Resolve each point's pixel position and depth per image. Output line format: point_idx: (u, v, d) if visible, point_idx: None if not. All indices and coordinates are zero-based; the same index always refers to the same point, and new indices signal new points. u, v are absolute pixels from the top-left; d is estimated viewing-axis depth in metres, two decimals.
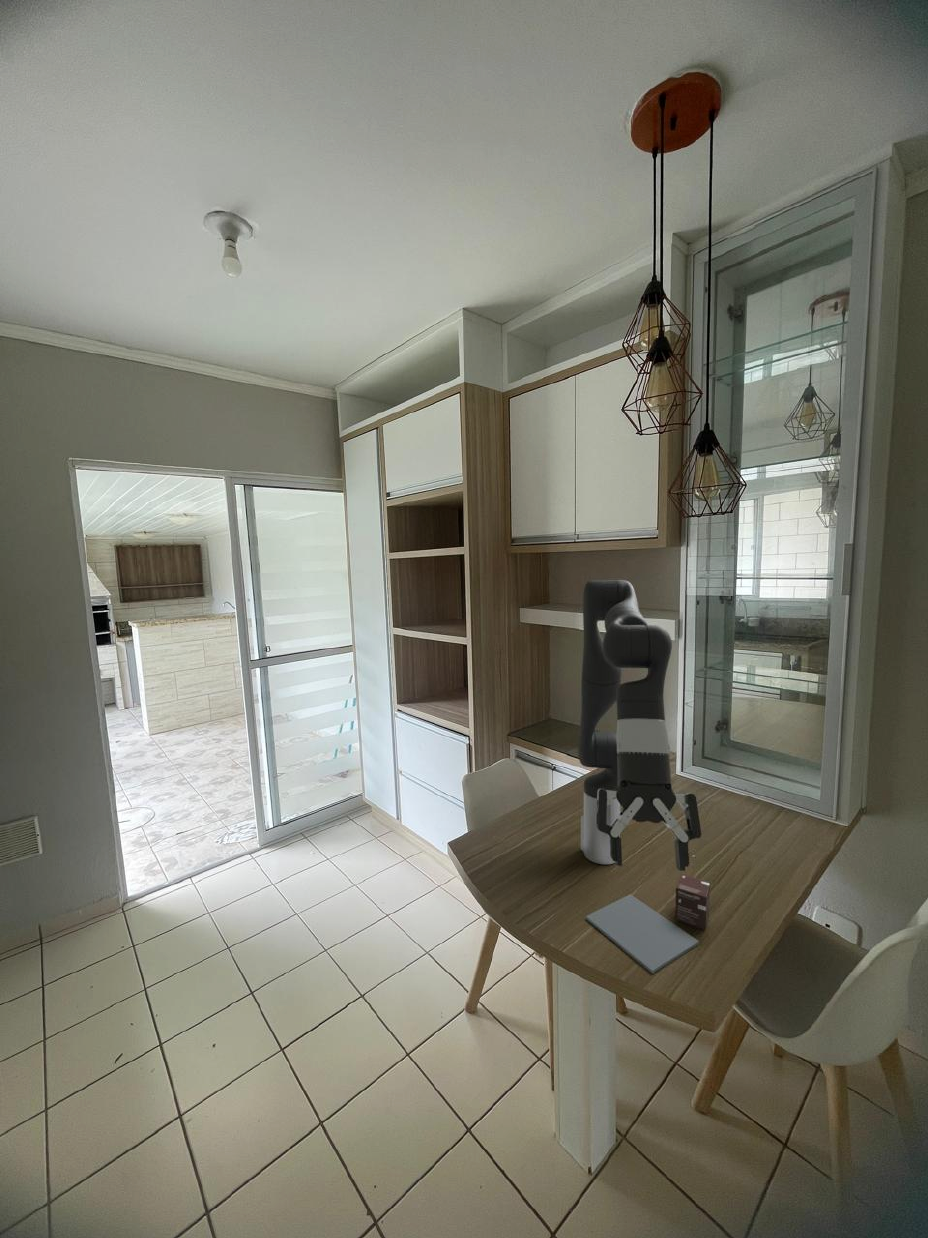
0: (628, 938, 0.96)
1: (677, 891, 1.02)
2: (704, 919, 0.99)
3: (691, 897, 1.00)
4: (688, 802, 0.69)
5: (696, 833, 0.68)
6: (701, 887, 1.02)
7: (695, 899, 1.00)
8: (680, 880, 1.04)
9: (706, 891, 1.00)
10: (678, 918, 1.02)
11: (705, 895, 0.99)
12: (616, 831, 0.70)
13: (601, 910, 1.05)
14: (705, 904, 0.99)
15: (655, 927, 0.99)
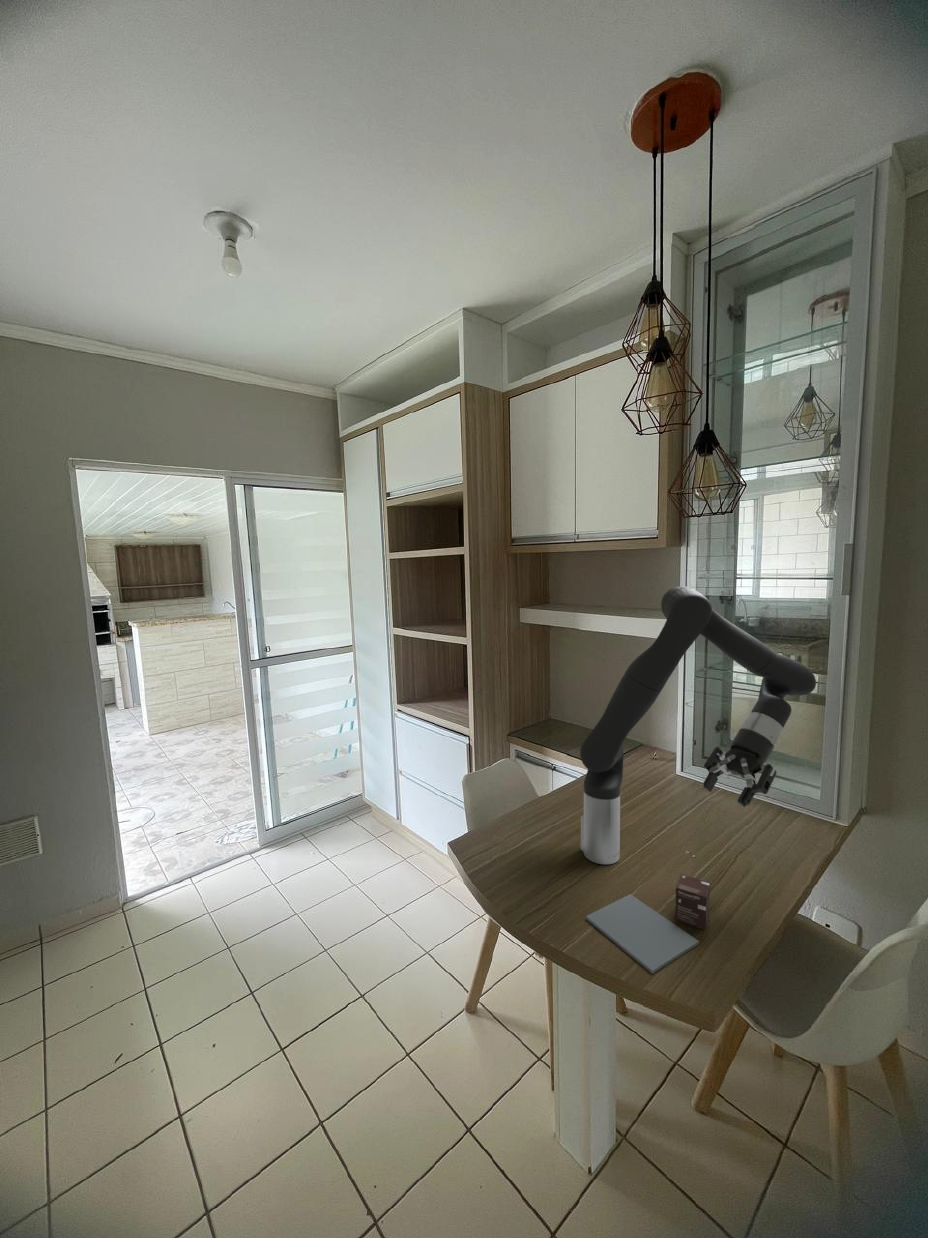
0: (628, 938, 0.96)
1: (677, 891, 1.02)
2: (704, 919, 0.99)
3: (691, 897, 1.00)
4: None
5: None
6: (701, 887, 1.02)
7: (695, 899, 1.00)
8: (680, 880, 1.04)
9: (706, 891, 1.00)
10: (678, 918, 1.02)
11: (705, 895, 0.99)
12: None
13: (601, 910, 1.05)
14: (705, 904, 0.99)
15: (655, 927, 0.99)
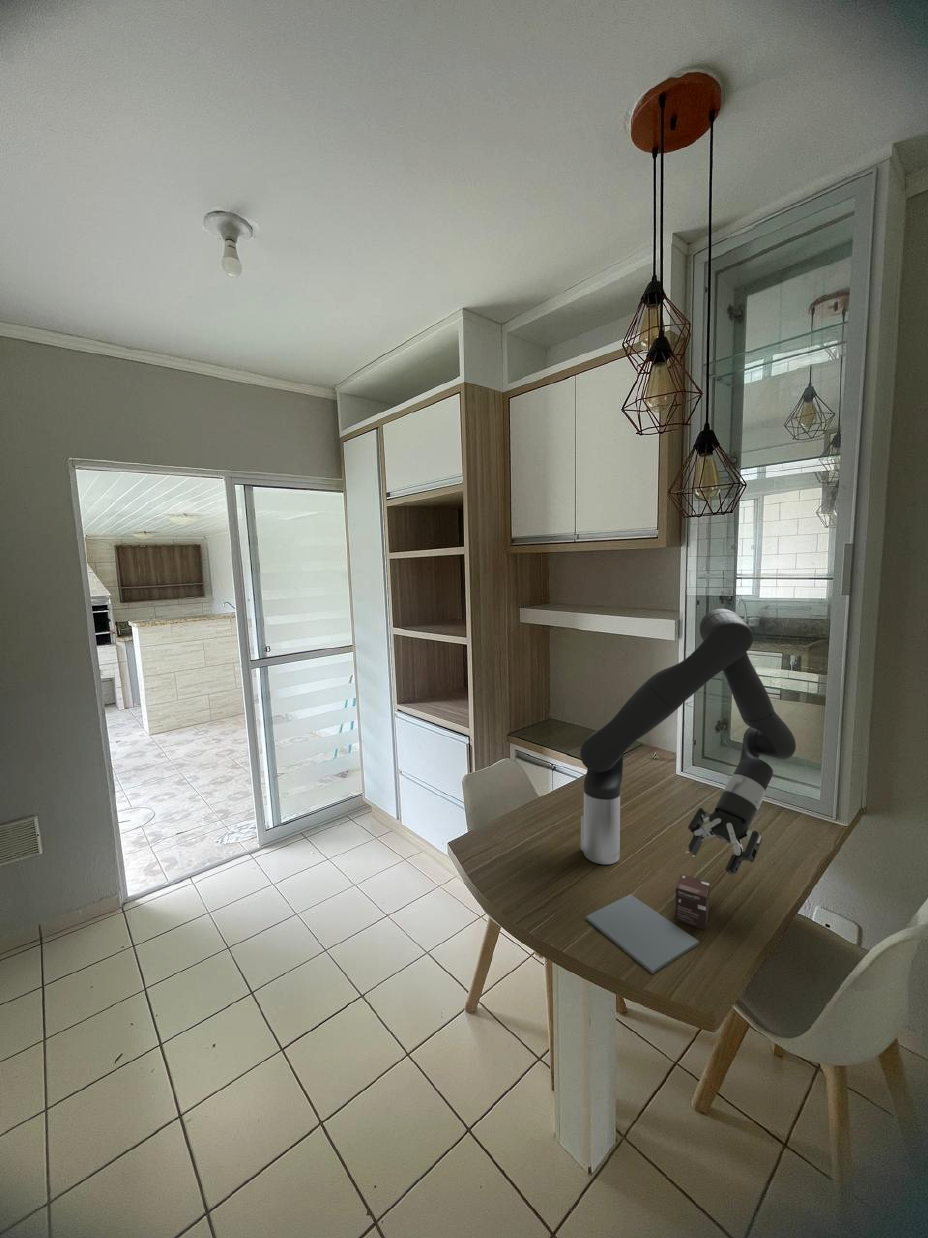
0: (628, 938, 0.96)
1: (677, 891, 1.02)
2: (704, 919, 0.99)
3: (691, 897, 1.00)
4: None
5: None
6: (701, 887, 1.02)
7: (695, 899, 1.00)
8: (680, 880, 1.04)
9: (706, 891, 1.00)
10: (678, 918, 1.02)
11: (705, 895, 0.99)
12: None
13: (601, 910, 1.05)
14: (705, 904, 0.99)
15: (655, 927, 0.99)
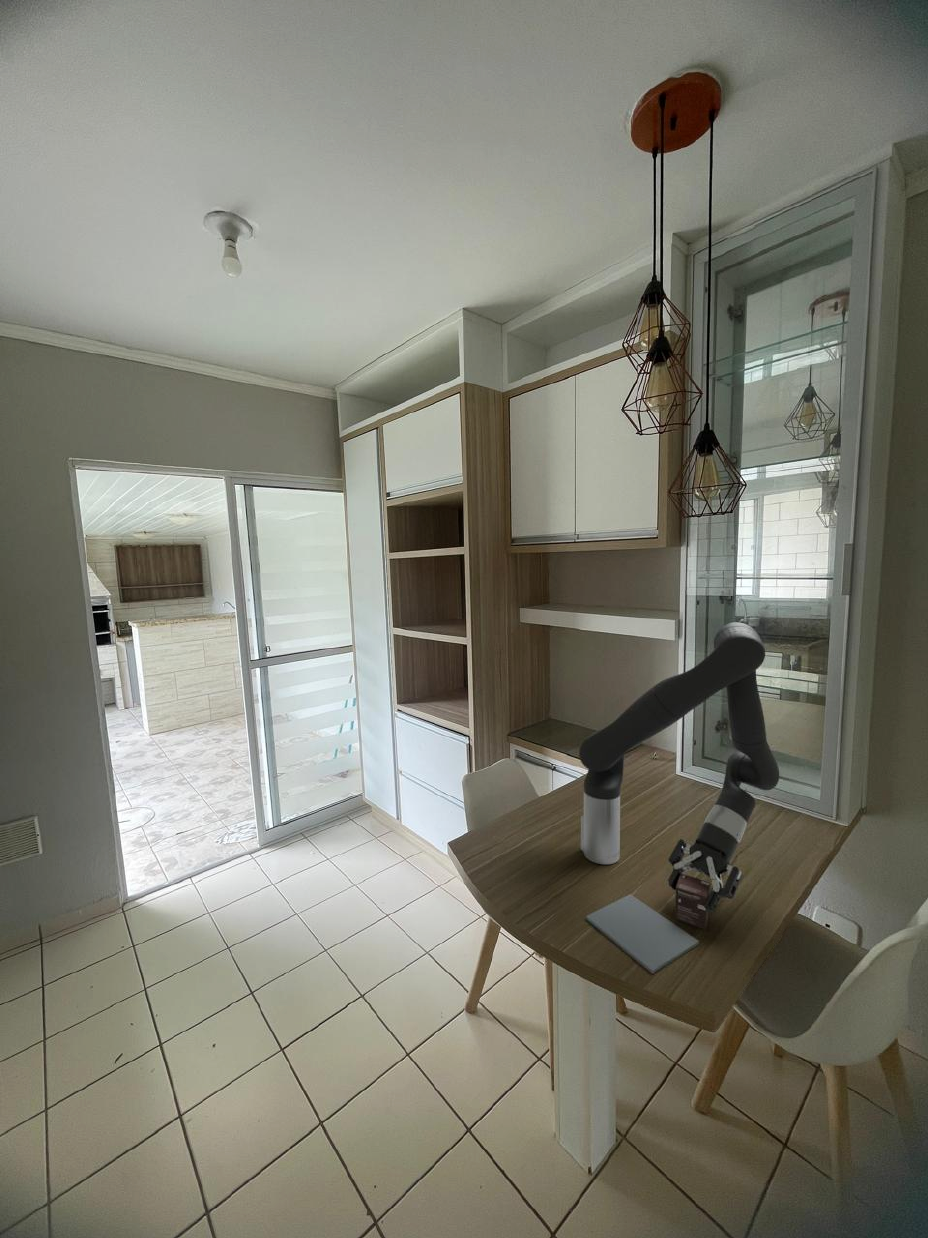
0: (628, 938, 0.96)
1: (677, 891, 1.02)
2: (704, 919, 0.99)
3: (691, 897, 1.00)
4: None
5: None
6: (701, 886, 1.02)
7: (694, 899, 1.00)
8: (680, 880, 1.04)
9: (706, 891, 1.00)
10: (678, 918, 1.02)
11: (705, 895, 0.99)
12: None
13: (601, 910, 1.05)
14: None
15: (655, 927, 0.99)
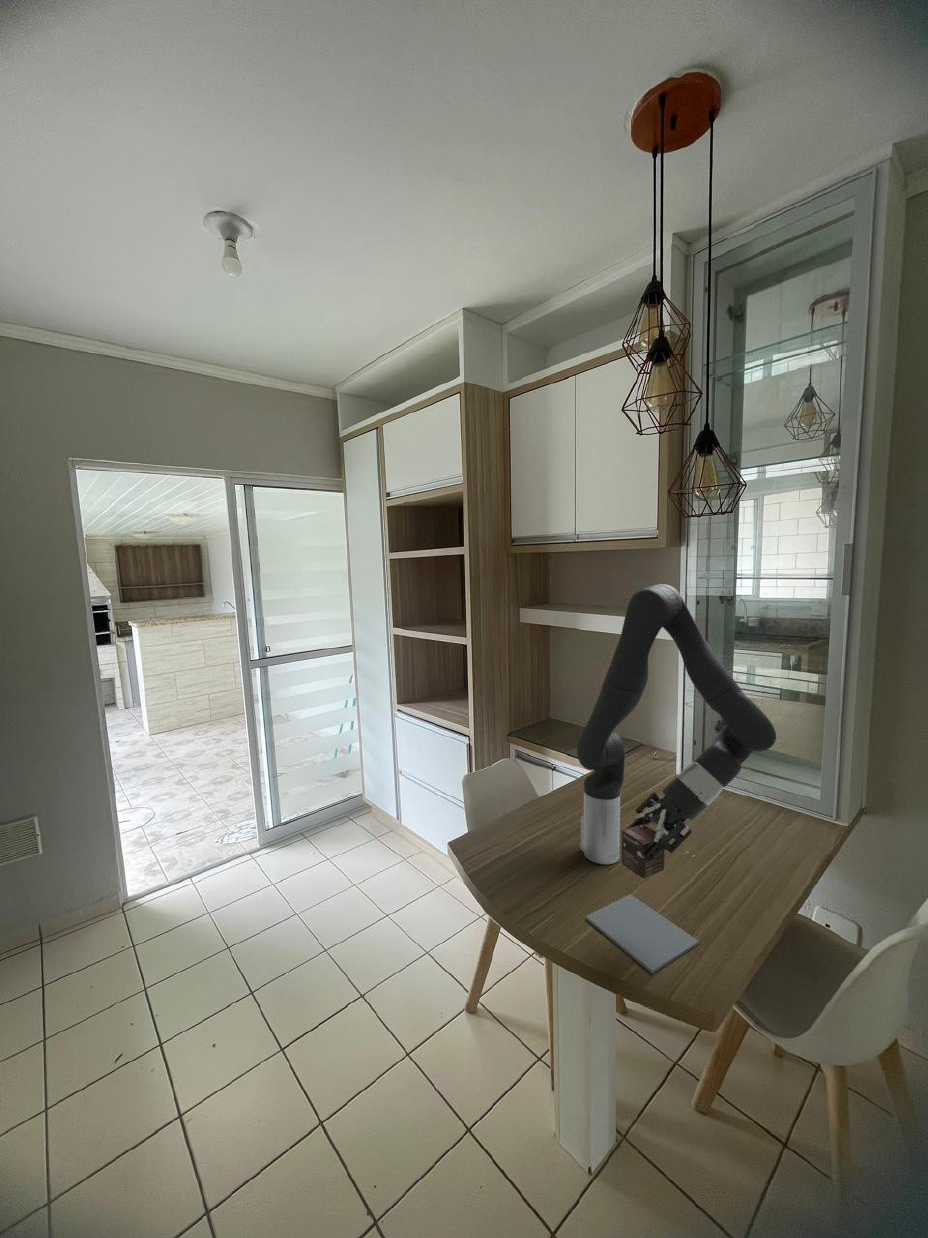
0: (628, 938, 0.96)
1: (622, 834, 0.99)
2: (642, 867, 0.94)
3: (633, 842, 0.96)
4: None
5: None
6: (649, 837, 0.96)
7: (635, 845, 0.96)
8: (634, 827, 1.00)
9: (650, 840, 0.95)
10: (623, 862, 0.99)
11: (644, 842, 0.94)
12: None
13: (601, 910, 1.05)
14: None
15: (655, 927, 0.99)
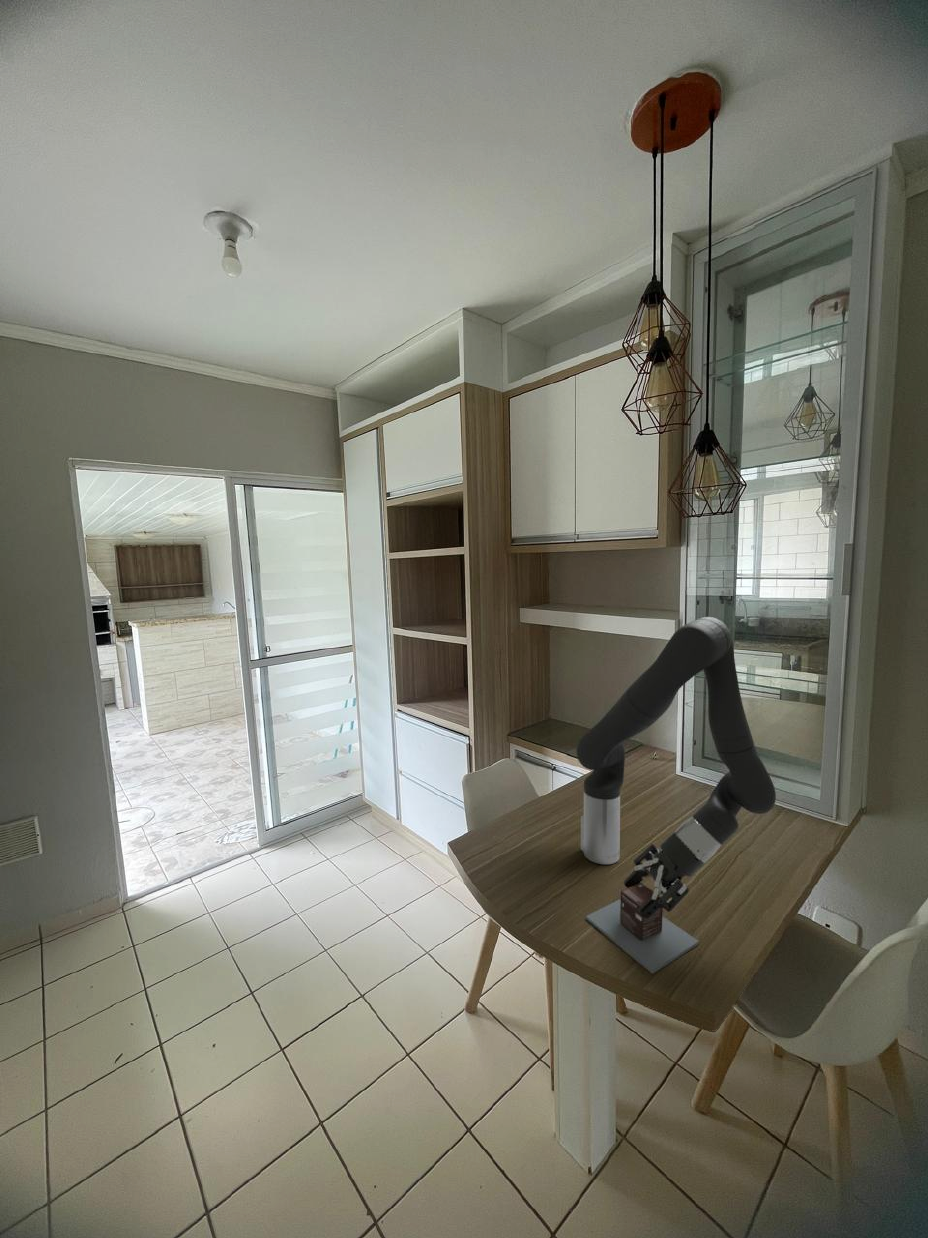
0: (628, 938, 0.96)
1: (621, 894, 1.00)
2: (640, 930, 0.95)
3: (631, 904, 0.97)
4: None
5: None
6: (647, 898, 0.97)
7: (633, 907, 0.97)
8: (632, 887, 1.01)
9: None
10: (622, 922, 1.00)
11: None
12: None
13: (601, 910, 1.05)
14: None
15: None
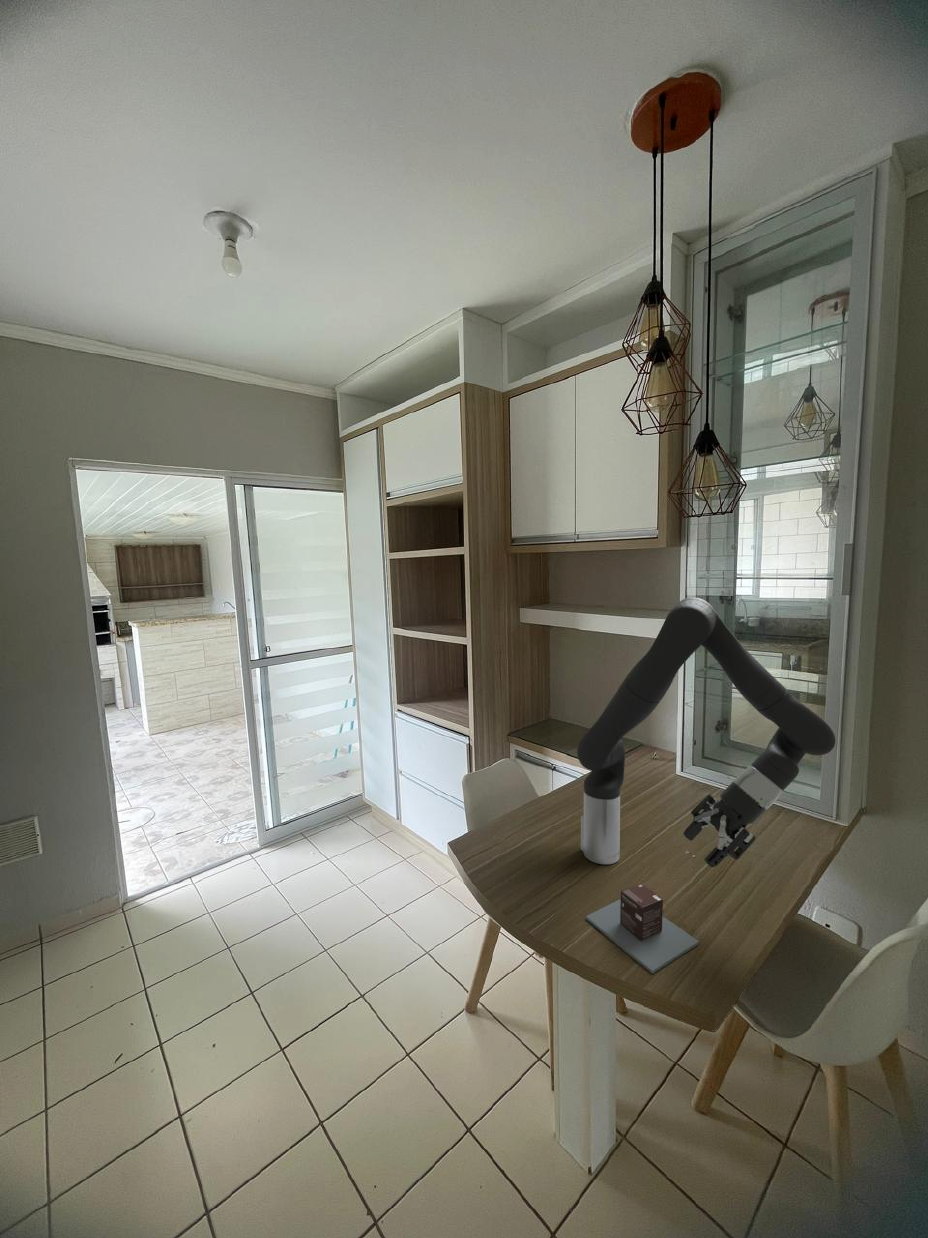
0: (628, 938, 0.96)
1: (621, 894, 1.00)
2: (640, 930, 0.95)
3: (631, 904, 0.97)
4: None
5: None
6: (647, 898, 0.97)
7: (633, 907, 0.97)
8: (632, 887, 1.01)
9: (648, 903, 0.96)
10: (622, 922, 1.00)
11: (642, 905, 0.95)
12: None
13: (601, 910, 1.05)
14: (641, 914, 0.95)
15: None
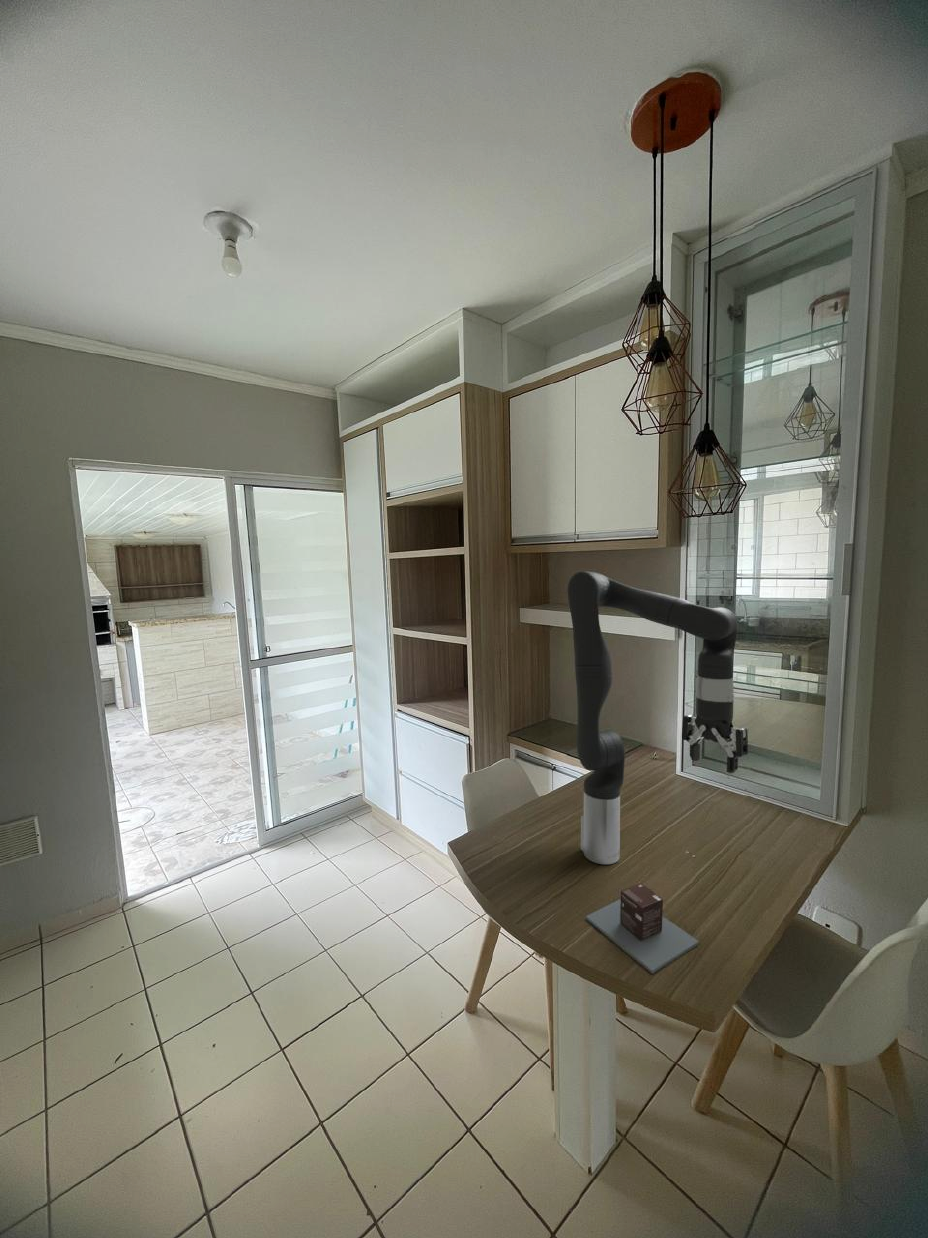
0: (628, 938, 0.96)
1: (621, 894, 1.00)
2: (640, 930, 0.95)
3: (631, 904, 0.97)
4: None
5: None
6: (647, 898, 0.97)
7: (633, 907, 0.97)
8: (632, 887, 1.01)
9: (648, 903, 0.96)
10: (622, 922, 1.00)
11: (642, 905, 0.95)
12: None
13: (601, 910, 1.05)
14: (641, 914, 0.95)
15: None
